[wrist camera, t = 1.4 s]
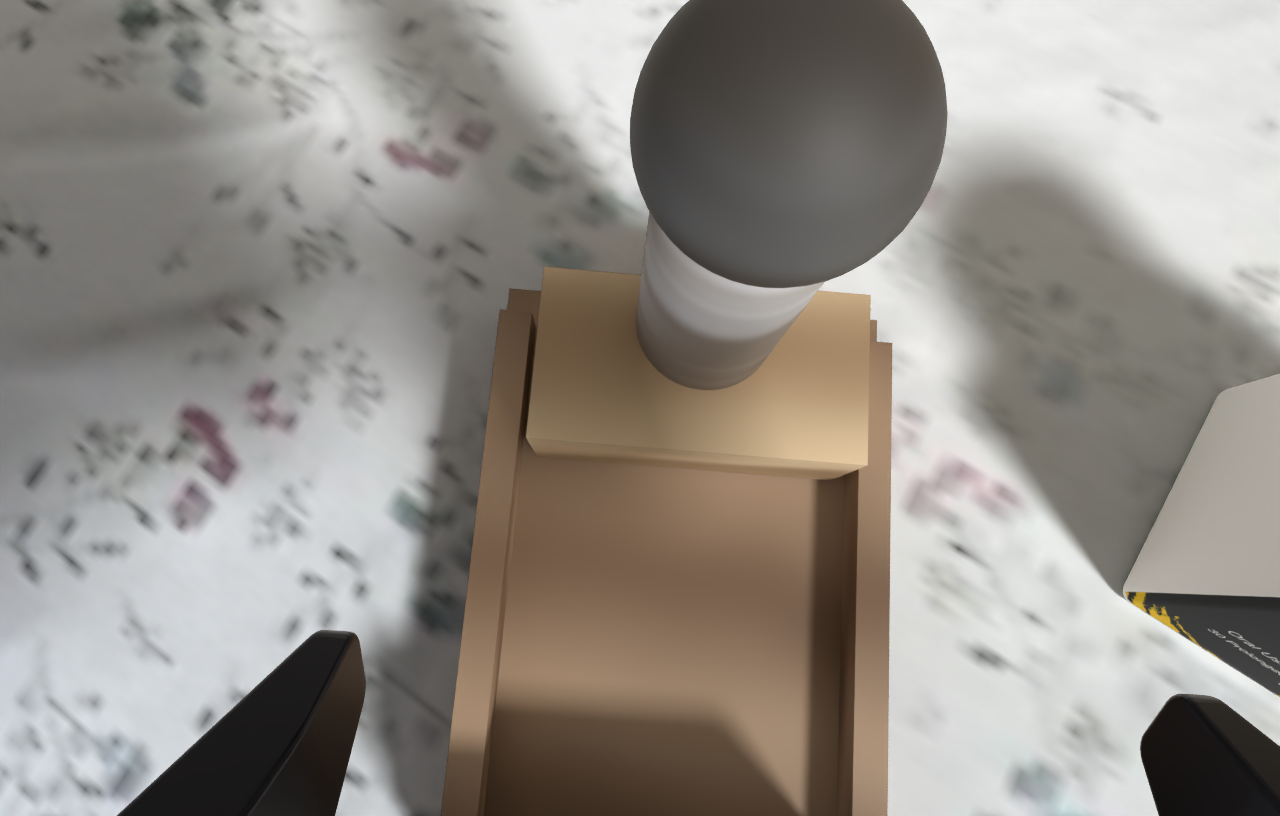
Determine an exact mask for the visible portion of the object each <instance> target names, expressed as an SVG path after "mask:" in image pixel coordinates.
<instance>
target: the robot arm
mask: <svg viewBox="0 0 1280 816" xmlns="http://www.w3.org/2000/svg"><path fill="white" fill-rule="evenodd" d="M365 689H366V680H365V673H364V667H363V661H362V655H361V648H360V642H359V639H358V637H357V635H356V634H355V633H353V632H347V631H334V630H320V631H318V632H316V633H314V634H312V635H311V636H310V637H309V638H308V639H307V640H306V641H305V642H304V643H303V644H301V645H300V646H299V647H298V648H297V649H296V650H295V651H294V652H293V653H292V654H291V655H290V656H288V657H287V658H286V659H285V660H284V661H283V662H282V663H281V664H280V665H279V666H278V667H277V668H276V669H274V670H273V671H272V672H271V673H270V674H269V675H268V676H267V677H266V678H265V679H264V680H263V681H262V682H260V683H259V684H258V685H257V686H256V687H255V688H254V689H253V690H252V691H251V692H250V693H249V694H248V695H246V696H245V697H244V698H243V699H242V700H241V701H240V702H239V703H238V704H237V705H236V706H235V707H234V708H232V709H231V710H230V711H229V712H228V713H227V714H226V715H225V716H224V717H223V718H222V719H221V720H220V721H218V722H217V723H216V724H215V725H214V726H213V727H212V728H211V729H210V730H209V731H208V732H207V733H206V734H204V735H203V736H202V737H201V738H200V739H199V740H198V741H197V742H196V743H195V744H194V745H193V746H192V747H190V748H189V749H188V750H187V751H186V752H185V753H184V754H183V755H182V756H181V757H180V758H179V759H177V760H176V761H175V762H174V763H173V764H172V765H171V766H170V767H169V768H168V769H167V770H166V771H165V772H163V773H162V774H161V775H160V776H159V777H158V778H157V779H156V780H155V781H154V782H153V783H152V784H151V785H149V786H148V787H147V788H146V789H145V790H144V791H143V792H142V793H141V794H140V795H139V796H138V797H137V798H135V799H134V800H133V801H132V802H131V803H130V804H129V805H128V806H127V807H126V808H125V809H124V810H123V811H121V812H120V813H119V814H118V815H117V816H335V813H336V809H337V805H338V801H339V797H340V793H341V789H342V786H343V782H344V778H345V774H346V770H347V766H348V762H349V758H350V754H351V750H352V746H353V742H354V738H355V734H356V730H357V726H358V722H359V718H360V715H361V711H362V707H363V702H364V697H365ZM1140 751H1141V758H1142V762H1143V765H1144V769H1145V772H1146V775H1147V778H1148V782H1149V785H1150V788H1151V791H1152V795H1153V798H1154V801H1155V804H1156V808H1157V811H1158V814H1159V816H1280V746H1278V745H1277V744H1276V743H1275V742H1273V741H1272V740H1271V739H1270V738H1268V737H1267V736H1266V735H1265V734H1263V733H1262V732H1261V731H1259V730H1258V729H1257V728H1256V727H1254V726H1253V725H1252V724H1251V723H1249V722H1248V721H1247V720H1245V719H1244V718H1243V717H1242V716H1240V715H1239V714H1238V713H1237V712H1235V711H1234V710H1233V709H1231V708H1230V707H1229V706H1228V705H1226V704H1225V703H1224V702H1222V701H1221V700H1219V699H1217V698H1214V697H1211V696H1206V695H1193V694H1176V695H1174V696H1172V697H1171V698H1170V699H1169V700H1168V701H1167V702H1166V703H1165V705H1164V706H1163V708H1162V709H1161V710H1160V712H1159V713H1158V715H1157V716H1156V717H1155V719H1154V720H1153V722H1152V723H1151V724H1150V726H1149V727H1148V729H1147V730H1146V731H1145V733H1144V734H1143V736H1142V740H1141V746H1140Z"/></svg>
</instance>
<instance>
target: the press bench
mask: <svg viewBox="0 0 1280 816" xmlns="http://www.w3.org/2000/svg"><path fill="white" fill-rule="evenodd" d="M540 301H541V291H532V290H521V289H510V291H509V300H508V308H507V310H501V309H500V313H499V322H498V331H497V339H496V348H495V356H494V365H493V373H492V382H491V391H490V399H489V408H488V416H487V425H486V433H485V442H484V451H483V459H482V468H481V476H480V485H479V493H478V502H477V510H476V519H475V528H474V536H473V545H472V553H471V562H470V570H469V579H468V588H467V596H466V605H465V613H464V622H463V630H462V639H461V648H460V656H459V665H458V673H457V682H456V690H455V699H454V708H453V716H452V725H451V733H450V742H449V750H448V759H447V767H446V776H445V785H444V793H443V802H442V810H441V816H887V796H888V698H889V601H890V504H891V406H892V343H885V342H877V320H870V355H869V416H868V465H867V466H865V467H862V468H860V469H858V470H855V471H853V472H850V473H848V474H845V475H843V476H840V477H838V478H835V479H833V480H830V481H829V480H816V479H804V478H792V477H779V476H767V475H754V474H742V473H730V472H717V471H705V470H692V469H680V468H668V467H655V466H643V465H631V464H618V463H606V462H593V461H581V460H569V459H556V458H544V457H537V456H536V454H535V452H534V451H533V449H532V447H531V445H530V444H529V442H528V440H527V438H526V433H527V423H528V414H529V404H530V395H531V386H532V376H533V367H534V357H535V348H536V338H537V329H538V319H539V310H540Z"/></svg>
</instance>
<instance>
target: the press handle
mask: <svg viewBox="0 0 1280 816" xmlns="http://www.w3.org/2000/svg"><path fill="white" fill-rule="evenodd" d="M946 127H947V102H946V91H945V83H944V78H943V74H942V69H941V66H940V63H939V60H938V58H937V55H936V52H935V50H934V47H933V45H932V42H931V41H930V39H929V37H928V35H927V33H926V31H925V29H924V27H923V26H922V24H921V23H920V22H919V20H918V19H917V17H916V16H915V14H914V13H913V12H912V11H911V10H910V9H909V8H908V6H907V5H906V4H905V3H904V2H903V1H902V0H690V1H688V2H687V3H686V4H685V5H684V6H682V8H681V9H680V10H679V11H678V12H677V13H676V14H675V15H674V16H673V18H672V19H671V20H670V21H669V23H668V24H667V25H666V27H665V28H664V29H663V31H662V32H661V34H660V35H659V37H658V38H657V40H656V41H655V43H654V44H653V46H652V48H651V50H650V52H649V55H648V57H647V59H646V61H645V63H644V65H643V68H642V70H641V73H640V76H639V79H638V82H637V85H636V89H635V93H634V99H633V105H632V111H631V117H630V146H631V155H632V162H633V168H634V172H635V175H636V179H637V182H638V186H639V188H640V191H641V194H642V196H643V198H644V201H645V203H646V205H647V208H648V209H649V219H648V227H647V235H646V243H645V250H644V258H643V266H642V274H641V275H635V274H623V273H612V272H600V271H589V270H578V269H566V268H555V267H544V272H543V282H542V291H541V301H540V310H539V319H538V329H537V338H536V348H535V357H534V367H533V376H532V386H531V395H530V404H529V414H528V423H527V433H526V438H527V440H528V442H529V444H530V445H531V447H532V449H533V451H534V452H535V454H536V456H537V457H544V458H556V459H569V460H581V461H593V462H606V463H618V464H631V465H643V466H655V467H668V468H680V469H692V470H705V471H717V472H730V473H742V474H754V475H767V476H779V477H792V478H804V479H816V480H829V481H830V480H833V479H835V478H838V477H840V476H843V475H845V474H848V473H850V472H853V471H855V470H858V469H860V468H862V467H865V466H867V465H868V416H869V355H870V295H863V294H851V293H840V292H829V291H818V290H819V288H820V287H821V286H822V285H823V283H824V282H825V281H828V280H830V279H833V278H836V277H838V276H841V275H843V274H845V273H847V272H849V271H851V270H853V269H855V268H857V267H858V266H860V265H862V264H864V263H866V262H867V261H869V260H870V259H871V258H873V257H874V256H875V255H877V254H878V253H879V252H881V251H882V250H883V249H884V248H885V247H886V246H888V245H889V244H890V243H891V242H892V241H893V240H894V239H895V238H896V237H897V236H898V235H899V234H900V233H901V232H902V231H903V230H904V228H905V227H906V226H907V224H908V223H909V222H910V220H911V219H912V218H913V217H914V215H915V214H916V212H917V211H918V209H919V208H920V206H921V205H922V203H923V201H924V199H925V197H926V196H927V194H928V192H929V190H930V188H931V185H932V183H933V180H934V177H935V175H936V172H937V170H938V167H939V164H940V162H941V157H942V152H943V148H944V143H945V136H946Z"/></svg>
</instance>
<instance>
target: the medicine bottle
mask: <svg viewBox="0 0 1280 816" xmlns="http://www.w3.org/2000/svg"><path fill="white" fill-rule="evenodd" d="M1123 595H1124V598H1125V599H1126V600H1127V601H1128V602H1129V603H1131V604H1133V605H1134V606H1136V607H1137V608H1139V609H1141V610H1142V611H1144V612H1145V613H1147V614H1148V615H1150V616H1152V617H1153V618H1155V619H1156V620H1158V621H1160V622H1161V623H1163V624H1164V625H1166V626H1167V627H1169V628H1171V629H1172V630H1174V631H1175V632H1177V633H1179V634H1180V635H1182V636H1183V637H1185V638H1186V639H1188V640H1190V641H1191V642H1193V643H1194V644H1196V645H1198V646H1199V647H1201V648H1202V649H1204V650H1205V651H1207V652H1209V653H1210V654H1212V655H1213V656H1215V657H1217V658H1218V659H1220V660H1221V661H1223V662H1225V663H1226V664H1228V665H1229V666H1231V667H1232V668H1234V669H1236V670H1237V671H1239V672H1240V673H1242V674H1244V675H1245V676H1247V677H1248V678H1250V679H1251V680H1253V681H1255V682H1256V683H1258V684H1259V685H1261V686H1263V687H1264V688H1266V689H1267V690H1269V691H1270V692H1272V693H1274V694H1275V695H1277V696H1278V697H1280V374H1276V375H1273V376H1269V377H1266V378H1263V379H1259V380H1256V381H1252V382H1249V383H1246V384H1242V385H1239V386H1235V387H1232V388H1229V389H1225V390H1224V391H1222V392H1221V393H1220V394H1219V395H1218V396H1217V398H1216V400H1215V402H1214V404H1213V406H1212V408H1211V410H1210V412H1209V414H1208V416H1207V418H1206V420H1205V422H1204V424H1203V426H1202V428H1201V430H1200V432H1199V434H1198V436H1197V438H1196V440H1195V442H1194V444H1193V446H1192V448H1191V450H1190V452H1189V454H1188V456H1187V458H1186V460H1185V462H1184V464H1183V466H1182V468H1181V470H1180V472H1179V475H1178V477H1177V479H1176V481H1175V483H1174V485H1173V487H1172V489H1171V491H1170V493H1169V495H1168V497H1167V499H1166V501H1165V503H1164V505H1163V507H1162V509H1161V511H1160V513H1159V515H1158V517H1157V519H1156V521H1155V523H1154V525H1153V527H1152V529H1151V531H1150V533H1149V535H1148V537H1147V539H1146V541H1145V543H1144V545H1143V547H1142V549H1141V551H1140V553H1139V555H1138V557H1137V559H1136V561H1135V564H1134V566H1133V568H1132V570H1131V572H1130V574H1129V576H1128V578H1127V580H1126V582H1125V584H1124V586H1123Z"/></svg>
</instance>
